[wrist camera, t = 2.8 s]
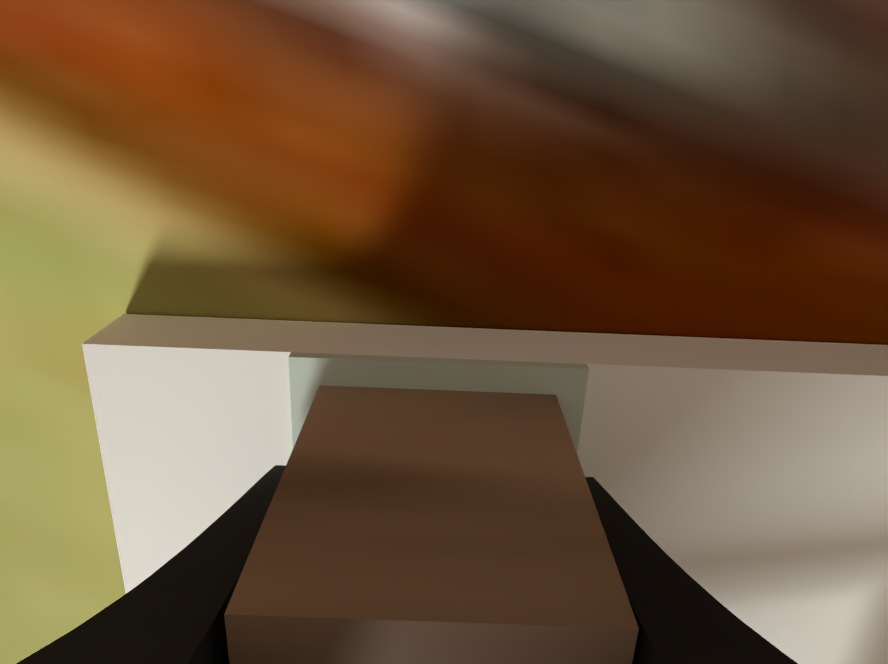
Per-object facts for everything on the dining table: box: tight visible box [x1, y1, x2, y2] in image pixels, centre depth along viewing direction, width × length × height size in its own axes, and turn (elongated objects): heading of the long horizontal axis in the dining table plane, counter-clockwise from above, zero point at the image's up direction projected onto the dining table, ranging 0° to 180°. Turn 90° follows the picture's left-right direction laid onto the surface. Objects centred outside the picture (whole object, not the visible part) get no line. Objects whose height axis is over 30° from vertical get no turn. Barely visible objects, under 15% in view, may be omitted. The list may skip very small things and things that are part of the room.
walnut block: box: [224, 385, 639, 664], centre depth 9 cm, size 4×4×5 cm
